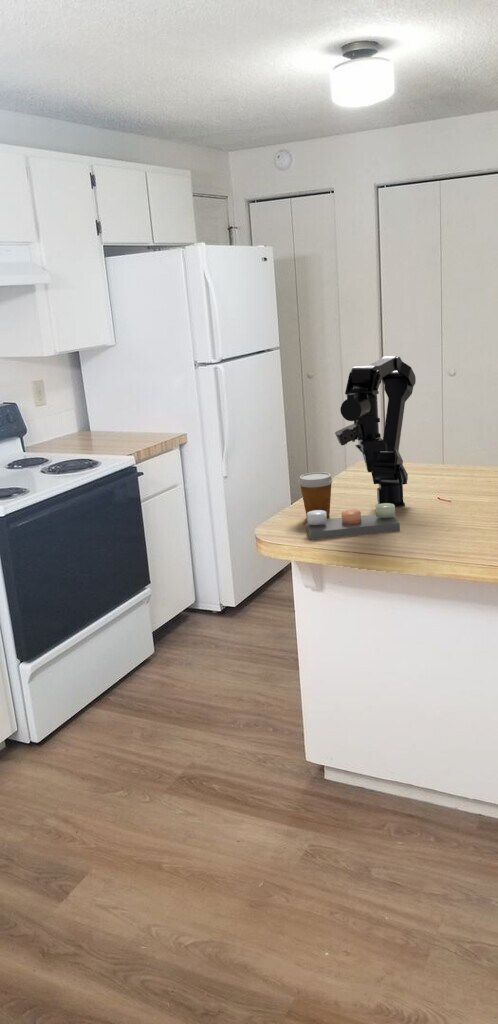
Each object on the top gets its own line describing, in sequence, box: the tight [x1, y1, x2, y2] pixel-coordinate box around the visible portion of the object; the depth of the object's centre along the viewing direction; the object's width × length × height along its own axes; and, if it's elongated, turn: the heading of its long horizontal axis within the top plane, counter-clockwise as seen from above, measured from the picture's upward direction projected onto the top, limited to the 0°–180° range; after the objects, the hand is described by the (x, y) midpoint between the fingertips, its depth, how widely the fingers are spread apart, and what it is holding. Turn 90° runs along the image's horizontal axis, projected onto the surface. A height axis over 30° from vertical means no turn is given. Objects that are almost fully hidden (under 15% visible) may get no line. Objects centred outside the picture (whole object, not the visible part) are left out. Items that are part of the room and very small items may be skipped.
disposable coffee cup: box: [297, 471, 334, 519], centre depth 228 cm, size 10×10×12 cm
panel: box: [305, 513, 401, 541], centre depth 216 cm, size 23×10×2 cm, turn 93°
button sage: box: [374, 503, 396, 518], centre depth 215 cm, size 5×5×2 cm
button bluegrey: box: [306, 510, 327, 525], centre depth 215 cm, size 5×5×2 cm
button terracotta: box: [341, 509, 362, 525], centre depth 215 cm, size 5×5×2 cm
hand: (369, 471), depth 221 cm, fingers closed
